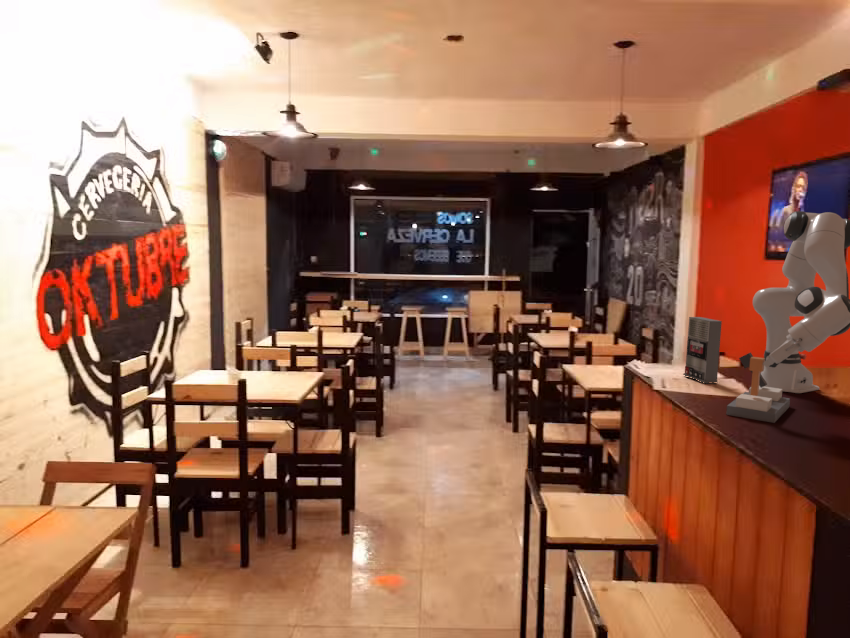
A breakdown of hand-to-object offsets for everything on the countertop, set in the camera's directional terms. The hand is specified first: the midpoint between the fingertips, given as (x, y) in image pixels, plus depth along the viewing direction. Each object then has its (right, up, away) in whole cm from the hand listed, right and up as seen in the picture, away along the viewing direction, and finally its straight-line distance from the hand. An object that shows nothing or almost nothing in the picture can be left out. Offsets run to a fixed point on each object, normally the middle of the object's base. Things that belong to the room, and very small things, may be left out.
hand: (765, 364), depth 204 cm
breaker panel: (+4, -16, +11) cm, 20 cm away
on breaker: (+9, -8, +17) cm, 21 cm away
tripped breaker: (-2, -11, +3) cm, 11 cm away
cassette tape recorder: (+4, -11, +58) cm, 59 cm away
